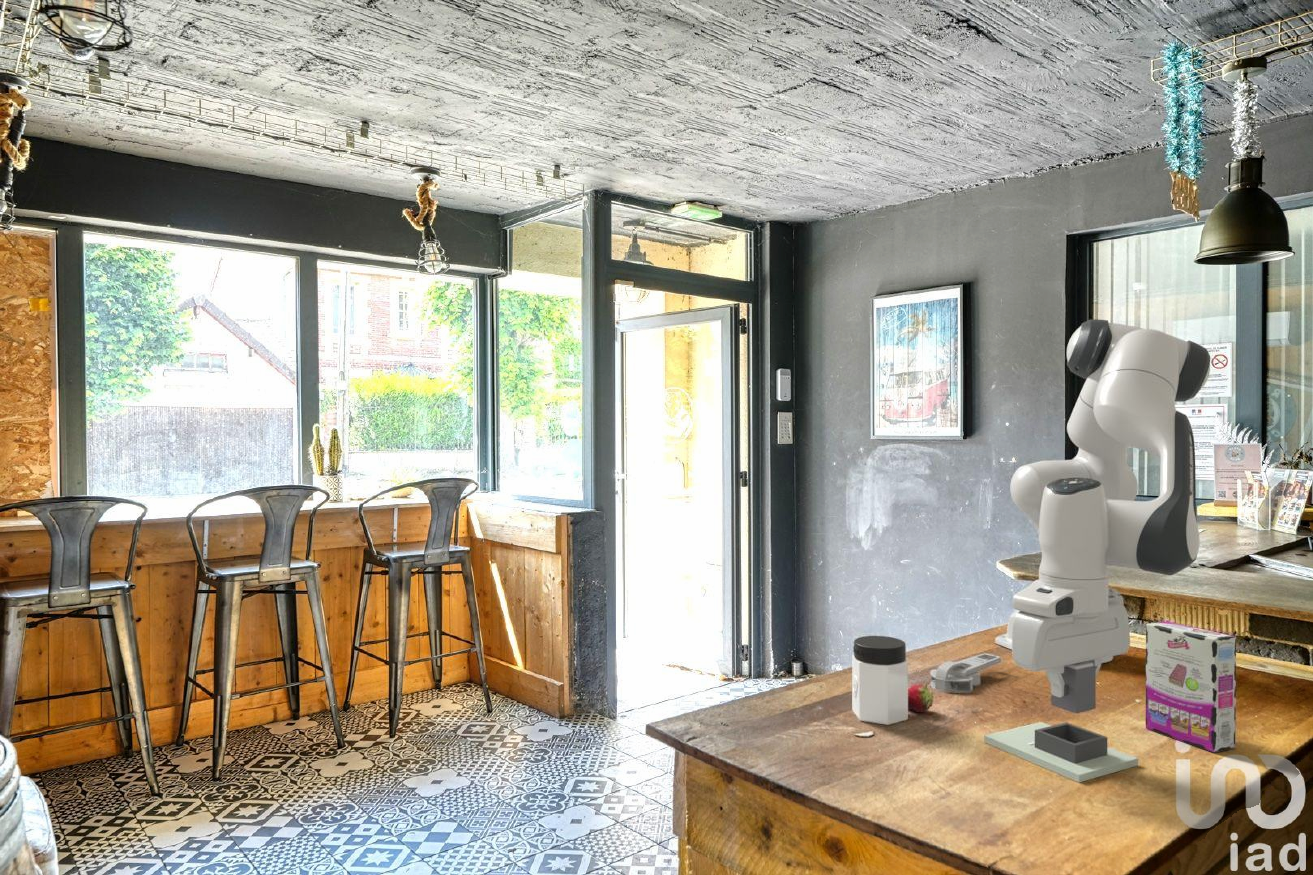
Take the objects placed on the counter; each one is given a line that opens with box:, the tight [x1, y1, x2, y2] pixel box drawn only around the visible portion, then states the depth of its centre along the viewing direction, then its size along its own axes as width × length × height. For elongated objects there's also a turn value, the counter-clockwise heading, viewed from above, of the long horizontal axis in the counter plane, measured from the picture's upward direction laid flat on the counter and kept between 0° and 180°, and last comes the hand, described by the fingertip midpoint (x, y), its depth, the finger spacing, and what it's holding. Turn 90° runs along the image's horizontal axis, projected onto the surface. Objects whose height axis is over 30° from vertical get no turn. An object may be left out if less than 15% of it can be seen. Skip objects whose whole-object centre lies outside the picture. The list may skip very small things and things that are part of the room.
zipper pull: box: [929, 652, 1002, 694], centre depth 159 cm, size 8×18×4 cm, turn 130°
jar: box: [851, 635, 909, 726], centre depth 141 cm, size 9×8×12 cm
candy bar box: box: [1145, 620, 1237, 753], centre depth 130 cm, size 11×5×16 cm, turn 23°
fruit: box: [908, 683, 934, 713], centre depth 143 cm, size 4×6×5 cm
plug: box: [1050, 661, 1097, 714], centre depth 123 cm, size 4×4×6 cm
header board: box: [983, 721, 1139, 783], centre depth 125 cm, size 16×12×4 cm
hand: (1072, 692), depth 123 cm, fingers closed on plug, 4 cm apart
